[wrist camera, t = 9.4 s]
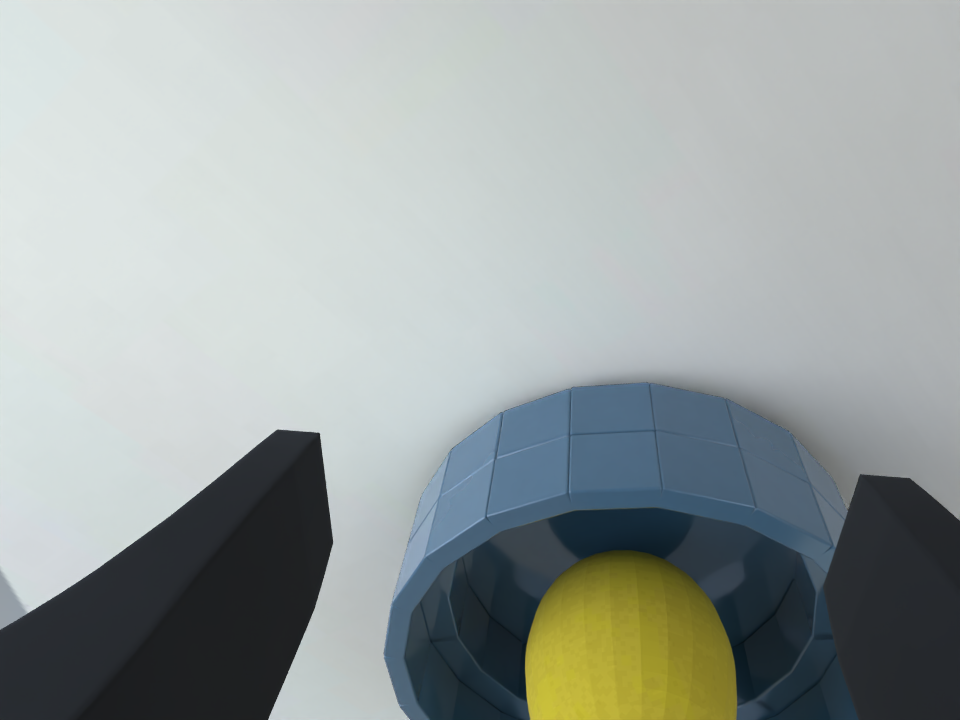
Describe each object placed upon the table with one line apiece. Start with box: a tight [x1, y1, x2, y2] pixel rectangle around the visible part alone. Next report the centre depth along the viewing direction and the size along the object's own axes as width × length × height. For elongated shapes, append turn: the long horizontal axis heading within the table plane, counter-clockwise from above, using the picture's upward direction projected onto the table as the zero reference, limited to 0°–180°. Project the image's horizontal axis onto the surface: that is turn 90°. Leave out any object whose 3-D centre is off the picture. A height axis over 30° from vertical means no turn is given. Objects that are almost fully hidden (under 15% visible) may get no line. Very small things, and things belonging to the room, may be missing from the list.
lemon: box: [525, 550, 737, 720], centre depth 21 cm, size 6×6×8 cm
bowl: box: [384, 383, 858, 720], centre depth 23 cm, size 13×13×5 cm
